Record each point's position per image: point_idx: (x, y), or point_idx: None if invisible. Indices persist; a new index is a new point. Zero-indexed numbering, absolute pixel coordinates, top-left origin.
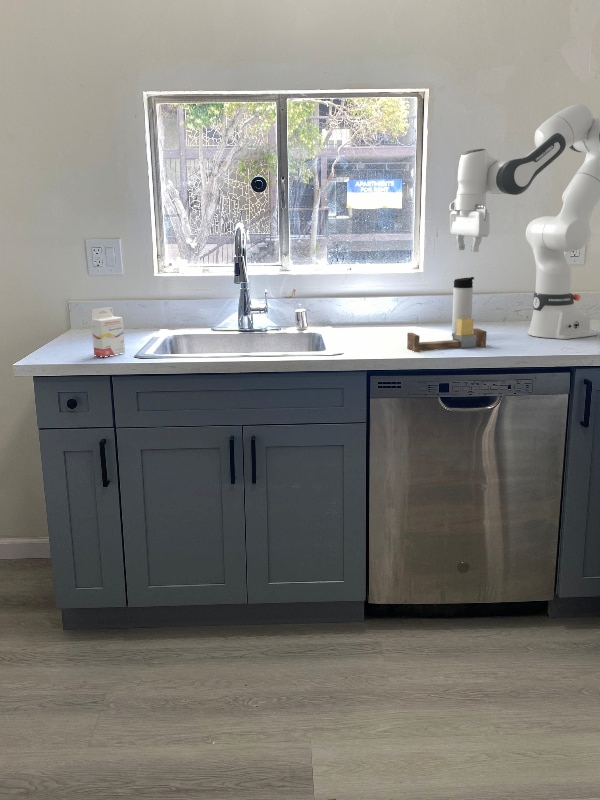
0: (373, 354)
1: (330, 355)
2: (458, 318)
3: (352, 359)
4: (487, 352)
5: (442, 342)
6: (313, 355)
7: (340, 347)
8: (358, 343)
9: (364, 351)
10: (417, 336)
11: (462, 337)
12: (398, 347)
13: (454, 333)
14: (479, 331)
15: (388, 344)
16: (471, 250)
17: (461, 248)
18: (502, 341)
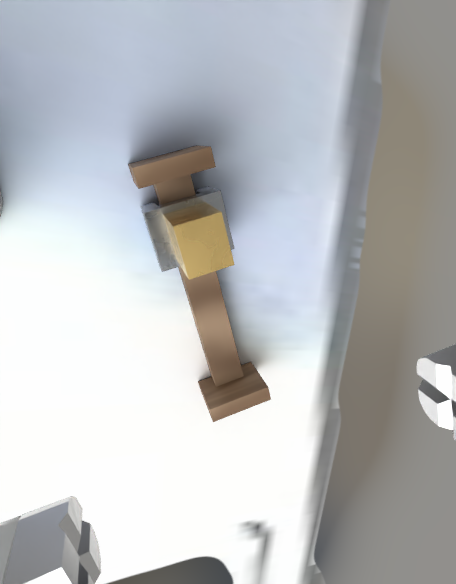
0: (267, 462)
1: (265, 540)
2: (198, 273)
3: (312, 493)
4: (283, 162)
5: (219, 304)
6: (260, 568)
7: (173, 543)
8: (117, 516)
9: (229, 485)
10: (268, 391)
11: (232, 244)
12: (182, 415)
13: (169, 266)
14: (192, 172)
15: (134, 443)
16: (438, 415)
17: (91, 544)
18: (76, 35)
